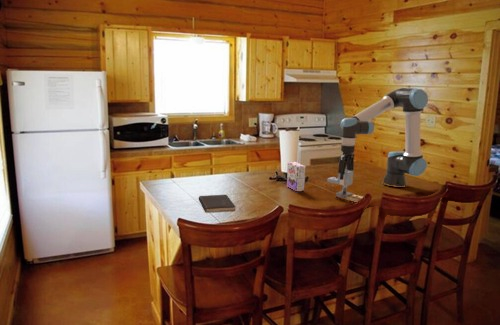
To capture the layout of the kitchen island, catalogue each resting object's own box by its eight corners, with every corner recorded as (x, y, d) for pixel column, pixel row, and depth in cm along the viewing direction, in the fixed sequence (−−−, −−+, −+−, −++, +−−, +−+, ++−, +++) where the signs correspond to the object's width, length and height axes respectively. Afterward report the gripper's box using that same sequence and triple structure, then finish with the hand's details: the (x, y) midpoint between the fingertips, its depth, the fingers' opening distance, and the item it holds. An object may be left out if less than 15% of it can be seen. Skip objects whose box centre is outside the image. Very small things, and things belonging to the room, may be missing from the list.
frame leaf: (353, 197, 238) (353, 193, 237) (363, 200, 233) (364, 196, 233) (345, 200, 231) (345, 196, 231) (356, 203, 227) (357, 199, 226)
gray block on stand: (341, 195, 242) (343, 177, 239) (352, 197, 237) (353, 179, 235) (335, 197, 236) (337, 179, 234) (346, 200, 232) (347, 181, 230)
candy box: (286, 186, 258) (287, 161, 254) (294, 186, 260) (295, 161, 257) (296, 192, 245) (297, 166, 242) (304, 192, 247) (306, 165, 244)
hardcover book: (226, 198, 232) (226, 194, 231) (235, 210, 210) (235, 206, 210) (198, 199, 227) (198, 195, 227) (205, 212, 206) (205, 208, 205)
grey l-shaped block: (332, 180, 244) (333, 167, 242) (352, 184, 235) (353, 170, 234) (326, 181, 239) (327, 168, 238) (347, 186, 231) (348, 172, 229)
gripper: (350, 142, 240) (347, 179, 244) (333, 145, 226) (330, 185, 230) (361, 144, 235) (358, 182, 240) (345, 147, 221) (342, 187, 225)
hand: (344, 183), depth 235 cm, fingers closed on grey l-shaped block, 6 cm apart
